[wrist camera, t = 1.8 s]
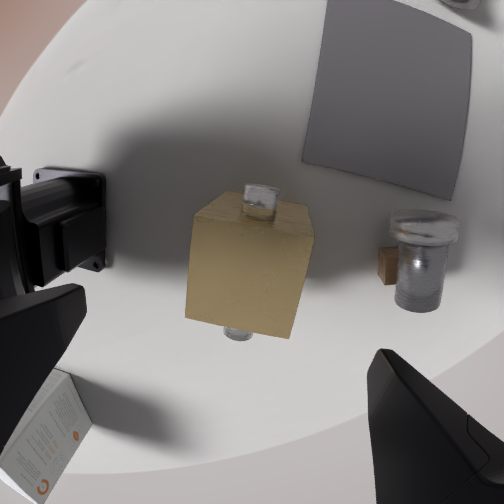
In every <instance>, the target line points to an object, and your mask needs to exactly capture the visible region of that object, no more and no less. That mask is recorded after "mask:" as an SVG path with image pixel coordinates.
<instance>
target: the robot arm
mask: <svg viewBox="0 0 504 504" xmlns="http://www.w3.org/2000/svg"><path fill="white" fill-rule="evenodd" d="M39 174H40V177H39ZM20 179H22V168H13V169H11V166H8V165H6V164H5V162H4V161H3V159H2V157H1V156H0V455H1V453H2V452H3V450H4V447H5V446H6V444H7V442H8V440H9V439H10V437H11V435H12V433H13V432H14V430H15V428H16V427H17V425H18V423H19V422H20V420H21V418H22V417H23V415H24V413H25V412H26V410H27V408H28V407H29V405H30V404H31V402H32V400H33V399H34V397H35V396H36V394H37V392H38V391H39V389H40V388H41V386H42V385H43V383H44V382H45V380H46V379H47V377H48V376H49V374H50V373H51V371H52V370H53V368H54V367H55V365H56V364H57V362H58V361H59V360H60V358H61V357H62V355H63V354H64V352H65V351H66V349H67V347H68V346H69V344H70V342H71V340H72V339H73V337H74V335H75V333H76V331H77V330H78V328H79V326H80V325H81V323H82V321H83V319H84V318H85V316H86V313H87V305H86V296H85V289H84V287H83V286H81V285H77V284H74V283H71V284H66V285H62V286H58V287H53V288H49V289H44V290H40V291H36V292H35V289H34V288H35V287H37V286H40V287H44V286H46V285H47V284H49V283H50V282H51V281H53V280H54V279H56V278H57V277H59V276H60V275H62V274H63V273H65V272H70V271H71V270H73V269H74V268H76V267H80V268H84V269H87V270H91V271H95V272H100V271H101V270H103V269H104V268H105V247H106V210H105V193H106V179H105V176H104V175H103V174H99V173H90V172H80V171H69V170H57V169H44V168H41V169H36V170H35V171H34V175H33V184H31V185H27V186H24V187H21V185H20ZM97 179H98V180H99V185H98V184H97V182H96V181H97ZM96 262H98V264H99V266H98V265H97V263H96ZM367 391H368V421H369V430H370V438H371V447H372V455H373V465H374V475H375V489H376V501H377V502H376V503H377V504H504V442H503V441H501V440H500V439H499V438H498V437H496V436H495V435H494V434H492V433H491V432H490V431H488V430H487V429H486V428H485V427H483V426H482V425H481V424H480V423H479V422H477V421H476V420H475V419H474V418H473V417H471V416H470V415H467V412H465V411H464V410H463V409H462V408H461V407H460V406H458V405H457V404H456V403H455V402H454V401H453V400H451V399H450V398H449V397H448V396H447V395H446V394H444V393H443V392H442V391H441V390H440V389H438V388H437V387H436V386H435V385H434V384H432V383H431V382H430V381H429V380H428V379H427V378H425V377H424V376H423V375H422V374H421V373H419V372H418V371H417V370H416V369H415V368H413V367H412V366H411V365H410V364H409V363H407V362H406V361H405V360H404V359H403V358H401V357H400V356H399V355H398V354H397V353H395V352H394V351H393V350H391V349H382V348H381V349H379V350H378V351H377V352H376V354H375V357H374V359H373V361H372V363H371V365H370V367H369V369H368V373H367Z"/></svg>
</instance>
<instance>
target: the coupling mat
mask: <svg viewBox="0 0 504 504" xmlns="http://www.w3.org/2000/svg"><path fill="white" fill-rule="evenodd" d="M470 68H471V34H470V33H468V32H467V31H465V30H463V29H461V28H459V27H457V26H455V25H453V24H450V23H448V22H446V21H444V20H442V19H440V18H437V17H435V16H433V15H431V14H428V13H426V12H423V11H421V10H418V9H416V8H413V7H411V6H408V5H405V4H402V3H400V2H397V1H394V0H328V1H327V9H326V16H325V23H324V30H323V37H322V44H321V50H320V57H319V63H318V70H317V76H316V82H315V88H314V95H313V101H312V107H311V112H310V118H309V124H308V130H307V135H306V141H305V147H304V152H303V158H302V162H306V163H311V164H316V165H320V166H325V167H330V168H334V169H338V170H343V171H347V172H351V173H355V174H359V175H363V176H367V177H371V178H375V179H379V180H383V181H387V182H390V183H394V184H397V185H401V186H404V187H408V188H411V189H415V190H418V191H421V192H425V193H428V194H431V195H434V196H437V197H441V198H444V199H447V200H450V201H451V199H452V195H453V191H454V187H455V182H456V177H457V173H458V168H459V162H460V157H461V151H462V146H463V139H464V133H465V125H466V118H467V109H468V99H469V86H470Z"/></svg>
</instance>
